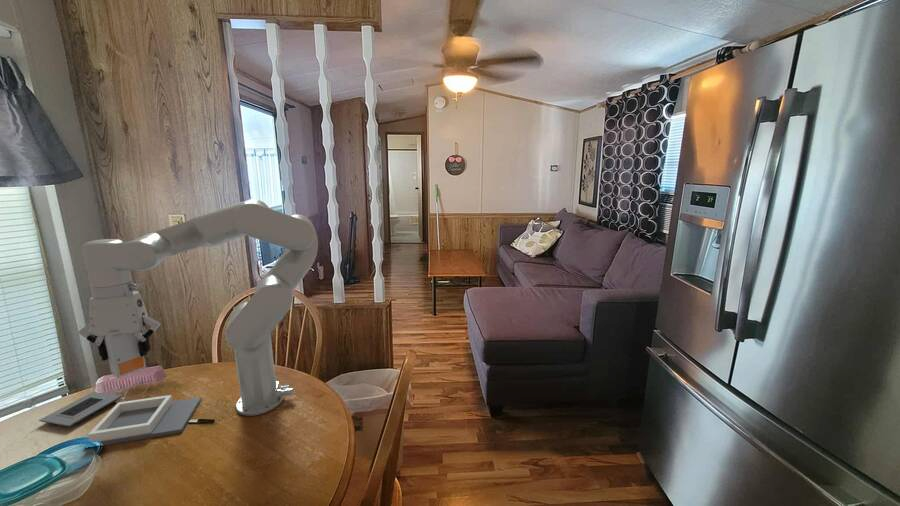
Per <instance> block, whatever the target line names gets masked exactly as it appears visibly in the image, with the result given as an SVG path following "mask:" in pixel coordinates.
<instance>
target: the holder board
mask: <svg viewBox="0 0 900 506" xmlns="http://www.w3.org/2000/svg"><path fill="white" fill-rule="evenodd" d="M201 402H202V397H193V398H187V399H186V398H185V399H181V400H173V395H172V394H169V395H162V396H155V397H148V398H141V399H134V400H128V401H127V400H125V401H120V402H119V401H118V402H117V403H116V404H115V405H114V406H113V407H112V408H111V409H110V410H109V412H107V414H106V415H105V416H104V417H103V418H102V419H101V420H100V421H99V422H98V423H97V424H96V425H95V427H93V428H92V430H90V431H89V433H88V434H87V436H88V440H89V441H90V442H95V441H100V442H101V443H102V444H103V446H109V445H115V444H119V443H120V444H121V443H126V442H127V443H128V442H133V441H137V440H138V441H139V440H145V439H150V438H156V437H162V436H169V435H174V434H179V433H183V432H184V430H185V428H186V426H187V424H188V423H189V422H188V421H190V420H191V418H192V417H193V415H194V413H195V412H196V410H197V409H198V407H199V405H200V403H201Z"/></svg>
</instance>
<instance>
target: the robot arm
mask: <svg viewBox="0 0 900 506" xmlns="http://www.w3.org/2000/svg"><path fill="white" fill-rule="evenodd" d="M245 236H248V237H250V238H252V239H253V238H254V239H256V240H260V241H262V242H265V243H268V244H271V245H275V246H278V247H282V248H285V249H284V251H283V252H282V254H281V255H280V257H279V258H278V260H276V262H275V263H274V265H272V267H271V268H270V269H269V271H267V273H266V274H265V275H264V276H263V277H262V278H261V279H260V280H259V281H258V283H257V284H256V286H255V290H254V293H253V295H252V296H251V298H250V299H249V300H248V301H245V302H241V303H240V304H239V305H237V306H236V307H235V308H234V310H233V311H232V312H231V314H230V316H229V319H228V323H227V325H226V329H225V340H226V343H227V344H228V345H229V346H230V347H231V348H232V349H234V351H233V352H234V358H235V366H236V372H237V379H238V385H239V386H238V387H239V393H240V398H239V399H238V401H237V402H236V404H235V408H236V411H237V413H238V414H240V415H243V416H246V417H251V416H252V417H253V416H258V415H259V416H260V415H263V414H266V413H268V412H270V411H272V410H274V409H275V408H277V407H278V406H279V405H280V404H281V403H282V401H283V400H284V396H292V395H294V393H293V391H294V390H293V389H294V388H293V387H290V384H287V385H285V384H284V385H281V384H280V381H279V380H278V381H277V379H276V372H275V371H276V370H275V362H274V355H273V353H274V352H273V345H272V344H273V343H272V335H271V333H272V332H273V331H274V330H275V328H276V327H277V326H278V325H279V324H280V322H281V321H282V320H283V319H284V317H285V316H286V315H287V313H288V312H289V310H290V309H291V306H292V304H293V300H294V291H295V289H296V288H297V286H299V284H300V283H301V281H302V280H303V279H304V278H305V276H306V275H307V274H308V272H309V271H310V269H311V267H312V266H313V264H314V262H316V261H315V260H316V257H317V255H318V251H319V250H318V249H319V248H318V247H319V239H318V234H317V231H316V229H315V226H314V224H313V222H312V221H311V219H309V217H307V216H306V215H303V214H291V215H290V214H286V213H283V212H281V211H278V210H276V209H273V208H270V207H269V205H267V204H266V203H265V202H264V201H262V200H260V199H255V198H252V199H247V200H243V201H240V202H238V203H235V204H232V205H231V204H230V205H228V206H226V207H223V208H220V209H219V208H218V209H217V210H214V211H211V212H210V211H209V212H207V213H203V214H202V215H201V214H200V215H198V216H196V217H192V218H191V219H189V220H186V221H183V222H180V223H177V224H173V225H170V226H168V227H165V228H161V229H158V230H156V231H153V232H150V233H147V234H144V235H142V236H140V237H138V238H136V239H133V240H130V241H123V240H122V239H117V238H103V239H101V238H100V239H95V240H90V241H87V242H85V243H84V244H83V245H82V249H81V250H82V254H83V261H84V263H85V268H86V273H87V278H88V282H89V287H90V291H91V297H89V303H88V315H89V318H88V319H89V323H88V324H86V325H85V326H83V328H81V329H80V330H79V331H78V334H79V335H81V336H82V337H83V338H86V340H87V341H89V342H90V343H92V344H93V345H94V346H95V347H97V349H98V352H99V357H101V360H102V361H107V360H108V355H107V350H106V345H105V340H104V337H105V336H106V332H117V331H120V332H122V334H134V335H135V336H136V337H137V338H138V339H139V340H140V341H139V342H138V348H139V353H140V356H144V357H145V355H147V353H148V352H149V351H151V345H150V337H151V336H152V335H153V333H155V332H156V330H157V329H158V328H159V326H161V322H160V321H158V320H156V319H155V318H152V317H150V316H149V314H148V311H147V308H146V305H145V302H144V300H143V298H142V296H141V293H140V292H139V291H138V290H140V288H141V285H140V283H135V282H134V280H133V277H132V273H131V271H138V272H139V271H140V272H141V271H148V270H151V269H154V268H157V266H158V265H159V264H161V263H162V262H163V261H165V260H167V259H168V258H171V257H173V256H176V255H179V254H181V253H184V252H187V251H190V250H193V249H198V248H202V247H203V248H204V247H205V248H213V247H218V246H221V245H223V244H225V243H228V242H231V241H234V240H236V239H238V238H242V237H245ZM147 326H149V328H148V330H147V329H146V328H145V327H147Z"/></svg>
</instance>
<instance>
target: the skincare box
mask: <svg viewBox="0 0 900 506" xmlns="http://www.w3.org/2000/svg"><path fill="white" fill-rule="evenodd" d="M104 340H105V345H106V350H107V355H108V359H107V360H108V364H109V369H110V373H111V374H112V375H113V376H114V377H115V378H117V379H119V378H121V377H124V376H127V375H130V374H133V373H135V372H137V371H141V370H144V369H146V368H147V364H146V359H145V356H140V353H139V348H138V342H139V341H140V340H139V339H138V338H137V337H136V336H135V335H134V334H122V332H120V331H117V332H106V336H105V337H104Z"/></svg>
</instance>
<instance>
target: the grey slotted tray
mask: <svg viewBox="0 0 900 506" xmlns="http://www.w3.org/2000/svg"><path fill="white" fill-rule="evenodd" d="M97 392H98V391H92V392H90V393H88V394H86V395H84V396H82V397H81V398H79V399H76V400H75V401H72V402H71V403H69V404H67V405H65V406H62V407H61V408H59V409H57V410H56V411H53V412H52V413H50V414H48V415H46V416H44V417H42V418H40V419H38V421H39V422H42V423H48V424H52V425H59V426H64V427H72V426H75V425H76V424H78V423H79V422H81V421H83V420H84V419H86V418H88V417H91V416H92V415H94V414H96V413H97V412H99V411H101V410H103V409H104V408H106V407H108V406H110V405H111V404H113V403H115V402H117V401H118V400H121V398H122V396H123V395H120V394H114V393H107V392H101V393H97Z"/></svg>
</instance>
